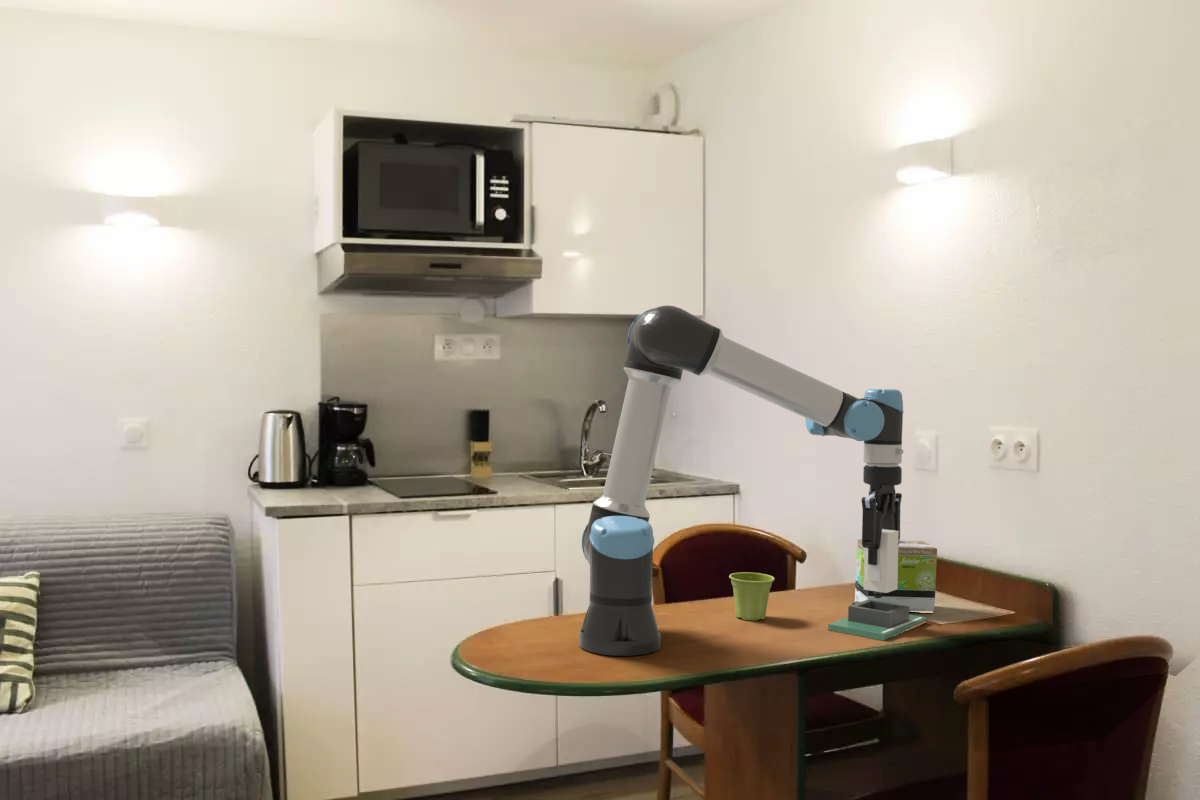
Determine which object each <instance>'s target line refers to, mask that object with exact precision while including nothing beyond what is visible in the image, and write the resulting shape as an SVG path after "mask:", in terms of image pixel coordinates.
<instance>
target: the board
mask: <svg viewBox="0 0 1200 800" xmlns="http://www.w3.org/2000/svg"><path fill="white" fill-rule="evenodd" d="M847 616H848V617H844V618H842V619H839V620H836V621H833V622H830V623H828V625H827V628H828V631H831V630H832V632H836V631H837V632H836V633H841V632H842V633H841V634H846V633H848V634H847V635H851V634H852V636H856V635H857V636H858V637H861V636H863V638H866V639H867V638H868V639H872V638H873V640H877V639H878V640H877V641H882V640H883V642H885V641H887V640H889V639H888V638H890V637H892V638H894V637H893V636H894V635H897V634H899V633H901V632H903V631H905V630H907V629H910V628H911V627H913V626H916V625H918V624H920V623H922V622H924V621H926V620H927V621H928V617H926V616H920V615H916V614H915V615H914V614H910V613H909V606H905V605H899V604H893V603H887V602H881V601H875V600H869V599H868V600H865V601H862V602H858V601H856V602H855V601H853V602H851V605H848V611H847ZM897 636H898V635H897ZM886 639H887V640H886ZM890 639H891V638H890Z"/></svg>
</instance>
